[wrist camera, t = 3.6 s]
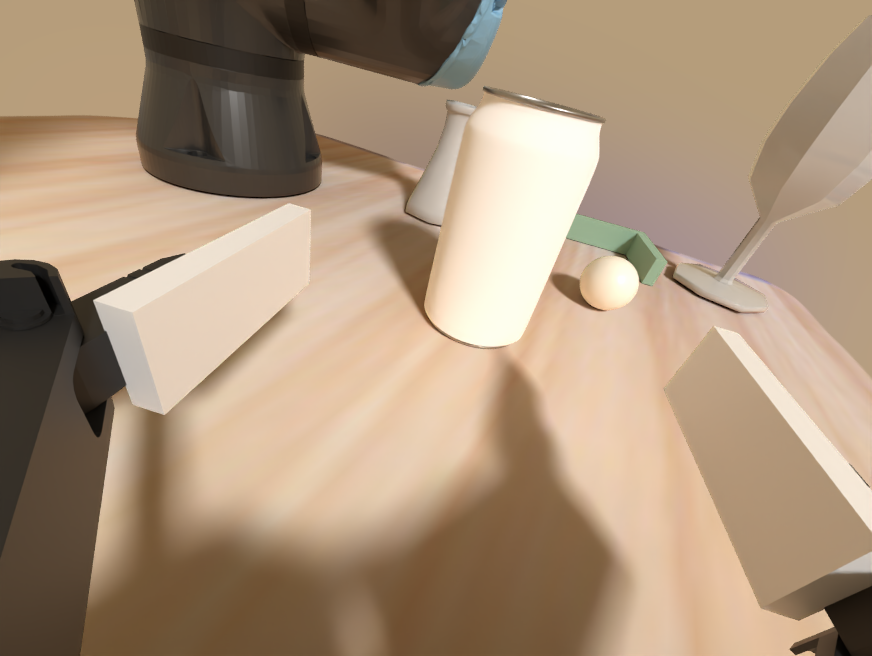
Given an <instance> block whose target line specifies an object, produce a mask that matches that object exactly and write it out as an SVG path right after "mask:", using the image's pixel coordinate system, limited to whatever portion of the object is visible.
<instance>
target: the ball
mask: <svg viewBox="0 0 872 656" xmlns="http://www.w3.org/2000/svg"><path fill="white" fill-rule="evenodd" d="M638 287H639V276H638V273H637V271H636V269H635V267H634V266H633V265H632V264H631V263H630V262H629V261H627V260H626V259H624V258H621V257H617V256H604V257H600V258H598V259H596V260H594V261H592V262H591V263H590V264H589V265H588V266H587V267H586V268H585V269H584V271H583V272H582V275H581V278H580V291H581V294H582V296H583V298H584V299H585V300H586V301H587V303H589V304H590V305H591V306H593V307H595V308H598V309H601V310H614V309H618V308H621V307H623V306H625V305H626V304H628V303H629V302H630V301H631V300H632V299H633V298H634V296H635V295H636V293H637V290H638Z"/></svg>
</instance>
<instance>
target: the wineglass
mask: <svg viewBox="0 0 872 656" xmlns="http://www.w3.org/2000/svg"><path fill="white" fill-rule="evenodd" d="M748 178H749V182H750V185H751V188H752V192H753V195H754V199H755V202H756V205H757V209H758V212H759V215H760V218H759V219H758V220H757V222H756V223H755V224H754V226H753V227H752V228H751V230H750V231H749V232H748V234H747V235H746V236H745V238H744V239H743V241H742V242H741V243H740V245H739V246H738V247H737V249H736V250H735V251H734V253H733V254H732V255H731V257H730V258H729V260H728V261H727V262H726V263H725V265H724V266H723V267H722V269H721V270H720V272H719V271H716V270H714V269H711V268H708V267H706V266H703V265H701V264H688V263H678V264H677V265H676V268H675V271H674V274H673V278H674V279H676V280H677V281H679V282H680V283H682V284H683V285H685V286H686V287H688V288H689V289H691V290H692V291H694V292H695V293H697V294H698V295H700V296H702V297H704V298H706V299H709V300H711V301H714V302H716V303H718V304H721V305H723V306H726V307H728V308H731V309H733V310H735V311H738V312H740V313H763V312H765V311H766V310H767V308H768V304H767V301H766V297H765V295H764V294H762V293H760V292H759V291H757V290H755V289H754V288H752V287H750V286H748V285H747V284H745V283H743V282H741V281H740V280H738V279H736V278H735V277H736V276H737V274H738V273H739V272H740V271H741V269H742V268H743V267H744V265H745V264H746V263H747V261H748V260H749V259H750V257H751V256H752V255H753V253H754V252H755V251H756V249H757V248H758V247H759V246H760V244H761V243H762V242H763V240H764V239H765V238H766V236H767V235H768V234H769V232H770V231H771V230H772V228H773V227H774V226H775V225H776V223H779V222H782V221H786V220H789V219H792V218H796V217H800V216H803V215H807V214H810V213H813V212H817V211H821V210H824V209H828V208H831V207H834V206H838V205H840V204H841V203H842V202H843V201H845V200H846V199H847V198H849V197H850V196H851V195H852V194H854V193H855V192H856V191H857V190H859V189H860V188H861V187H862V186H864V185H865V184H866V183H867V182H869V181H870V180H871V179H872V15H869V16H868V17H867V18H865V19H864V20H863V21H861V22H860V23H859V24H858V25H857V26H856V27H855V28H854V29H853V30H852V31H851V32H850V33H849V34H848V35H847V36H846V37H845V38H844V39H843V40H842V41H841V42H840V43H839V44H838V45H837V46H836V47H835V48H834V49H833V50H832V51H831V52H830V53H829V54H828V55H827V56H826V57H825V58H824V59H823V61H822V62H821V63H820V64H819V65H818V67H817V68H816V69H815V70H814V71H813V73H812V74H811V75H810V76H809V78H808V79H807V80H806V81H805V82H804V84H803V85H802V86H801V87H800V88H799V90H798V91H797V92H796V93H795V95H794V96H793V97H792V98H791V99H790V101H789V102H788V103H787V104H786V105H785V107H784V108H783V110H782V111H781V113H780V114H779V116H778V117H777V119H776V120H775V122H774V123H773V125H772V126H771V128H770V129H769V131H768V132H767V134H766V136H765V137H764V139H763V140H762V142H761V145H760V147H759V150H758V152H757V155H756V158H755V160H754V163H753V165H752V168H751V170H750V173H749V175H748Z"/></svg>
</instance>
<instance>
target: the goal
mask: <svg viewBox="0 0 872 656" xmlns="http://www.w3.org/2000/svg"><path fill="white" fill-rule="evenodd" d="M566 238H568V239H572V240H575V241H579V242H582V243H586V244H589V245H593V246H596V247H600V248H603V249H607V250H610V251H614V252H617V253H621V254H625V255H626V256H627V258H628V260H629V262H630V263H631V264H632V265H633V266H634V267H635V269H636V271H637V273H638V276H639V279H640V281H641V283H643V284H647V285H650V286H653V284H654V283H655V281H656V280H657V278H658V276H659V275H660V273H661V272H662V270H663V268H664V267H665V265H666V264H667V261H666V259H665V258H664V257H663V256H662V254H661V253H660V252H659V250H658V249H657V248H656V247H655V245H654V244H653V243H652V242H651V240H650V239H649V238H648V237H647V235H646V234H645V233H644V232H640V231H637V230H633V229H630V228H626V227H622V226H619V225H615V224H612V223H608V222H604V221H601V220H597V219H594V218H590V217H586V216H583V215H579V214H576V215H575V218H574V220H573V222H572V225H571V227H570V229H569V231H568V234H567V236H566Z"/></svg>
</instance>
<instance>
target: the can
mask: <svg viewBox="0 0 872 656" xmlns="http://www.w3.org/2000/svg"><path fill="white" fill-rule="evenodd" d="M483 91H484V95H483V98H482V100H481V102H480V103H479V105H478V106H477V108H476V109H475V110H474V112H473V113H472V115H471V116H470V117H469V119H468V121H467V123H466V126H465V129H464V132H463V136H462V140H461V144H460V148H459V153H458V157H457V161H456V165H455V170H454V174H453V178H452V182H451V187H450V191H449V195H448V200H447V204H446V208H445V213H444V217H443V221H442V226H441V230H440V234H439V239H438V243H437V248H436V252H435V256H434V261H433V265H432V270H431V274H430V278H429V283H428V288H427V292H426V297H425V303H424V308H425V311H426V314H427V316H428V317H429V319H430V321H431V322H432V324H433V325H434V326H435V327H436V328H437V329H438V330H439V331H440V332H441V333H443V334H444V335H446V336H447V337H449V338H451V339H452V340H454V341H457V342H459V343H462V344H464V345H468V346H471V347H476V348H484V349H494V348H501V347H504V346H507V345H509V344H512V343H514V342H516V341H517V340H518V339H520V337H521V336H522V335H523V333H524V331H525V329H526V326H527V324H528V322H529V320H530V318H531V315H532V313H533V311H534V309H535V306H536V304H537V302H538V300H539V297H540V295H541V293H542V291H543V288H544V286H545V284H546V282H547V279H548V277H549V275H550V272H551V270H552V268H553V266H554V263H555V261H556V259H557V257H558V254H559V252H560V250H561V247H562V245H563V243H564V241H565V238H566V236H567V234H568V231H569V229H570V227H571V225H572V222H573V220H574V218H575V215H576V213H577V211H578V208H579V206H580V203H581V202H582V199H583V197H584V195H585V192H586V190H587V188H588V185H589V183H590V180H591V178H592V175H593V173H594V171H595V168H596V166H597V163H598V160H599V133H600V129H601V125H602V123H605V121H606V119H605V118H603V117H600V116H597V115H593V114H591V113H587V112H584V111H580V110H577V109H573V108H570V107H566V106H563V105H559V104H555V103H551V102H548V101H544V100H541V99H537V98H533V97H529V96H525V95H521V94H517V93H513V92H509V91H505V90H501V89H496V88H492V87H486V86H484V87H483Z"/></svg>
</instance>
